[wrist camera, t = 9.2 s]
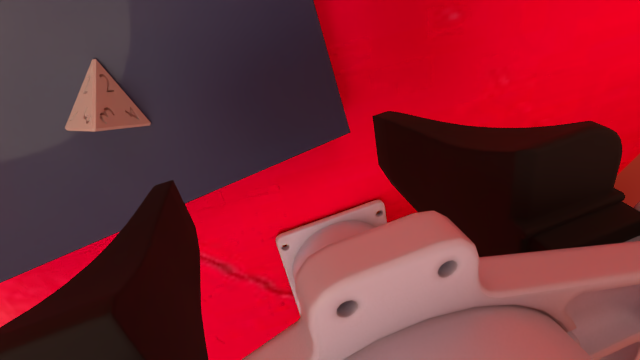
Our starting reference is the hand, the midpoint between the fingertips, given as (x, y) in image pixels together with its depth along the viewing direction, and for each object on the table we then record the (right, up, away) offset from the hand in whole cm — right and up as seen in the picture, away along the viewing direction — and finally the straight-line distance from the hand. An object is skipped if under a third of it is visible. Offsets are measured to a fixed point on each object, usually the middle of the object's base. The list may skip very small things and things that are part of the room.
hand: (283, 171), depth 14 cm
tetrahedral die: (-8, +3, +4) cm, 9 cm away
